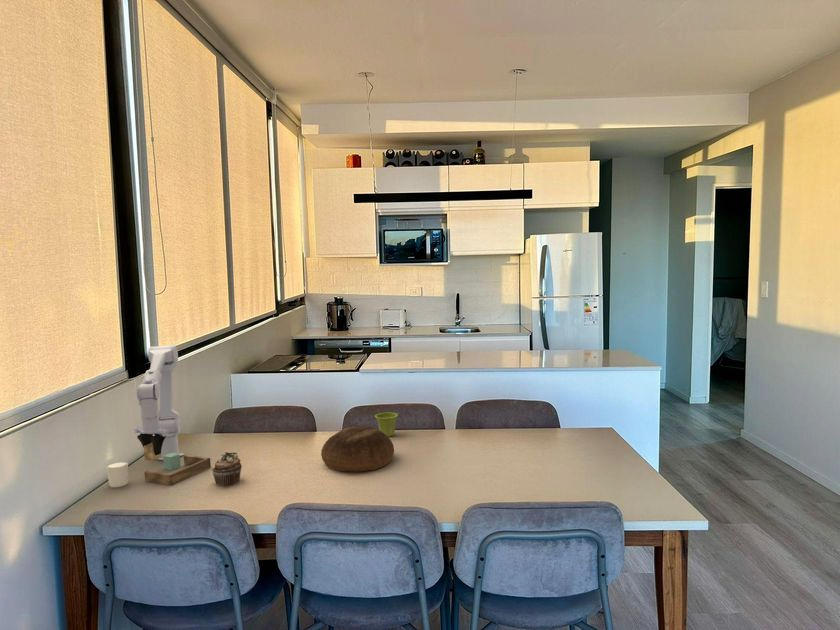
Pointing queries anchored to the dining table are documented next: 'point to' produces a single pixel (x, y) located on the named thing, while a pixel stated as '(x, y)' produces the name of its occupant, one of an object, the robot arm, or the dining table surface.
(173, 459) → the teal block
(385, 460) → the bread
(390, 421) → the plant pot
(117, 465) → the white cylinder
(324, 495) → the dining table surface
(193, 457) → the corral
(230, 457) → the cupcake
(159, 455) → the oak block
